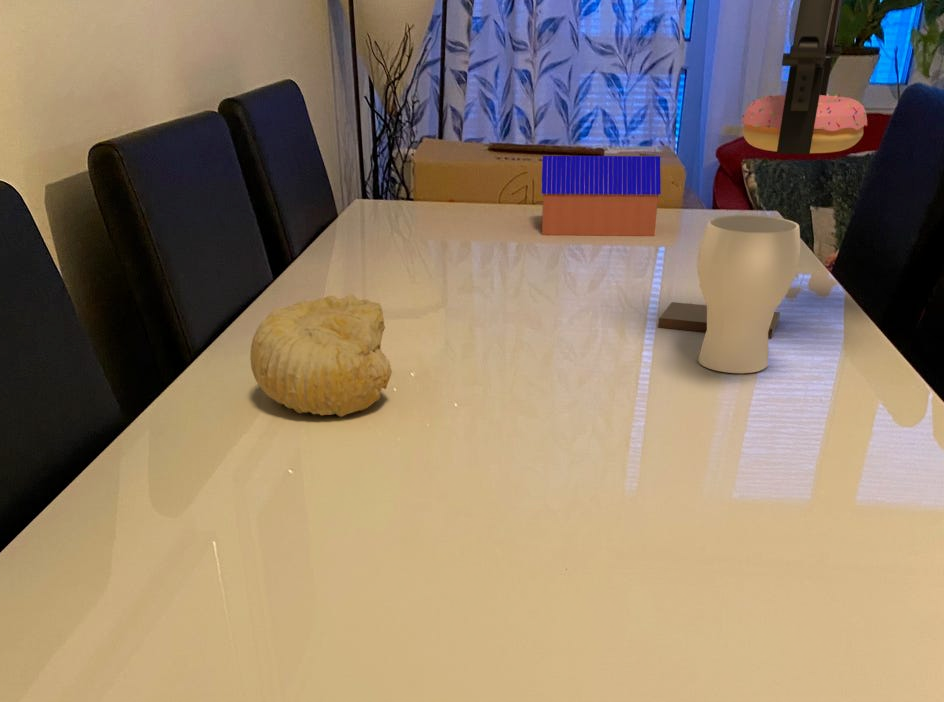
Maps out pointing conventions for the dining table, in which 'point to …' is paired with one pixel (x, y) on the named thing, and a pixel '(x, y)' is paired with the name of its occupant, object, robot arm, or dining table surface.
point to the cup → (744, 287)
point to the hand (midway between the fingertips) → (798, 144)
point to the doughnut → (832, 127)
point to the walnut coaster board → (695, 318)
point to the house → (600, 195)
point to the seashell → (322, 355)
